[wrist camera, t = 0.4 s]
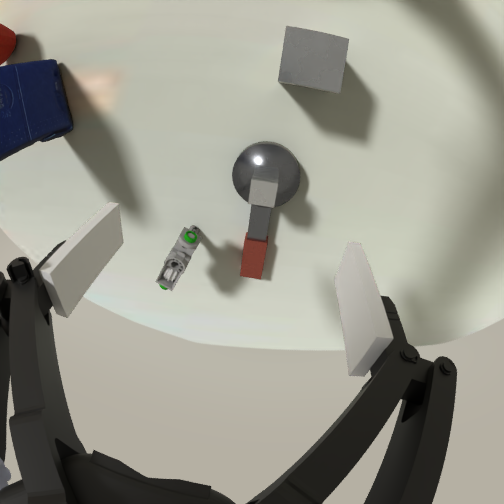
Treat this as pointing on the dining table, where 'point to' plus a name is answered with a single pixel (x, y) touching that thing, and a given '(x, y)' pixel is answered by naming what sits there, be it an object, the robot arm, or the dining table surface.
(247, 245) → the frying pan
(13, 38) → the apple
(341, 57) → the gray rectangular block
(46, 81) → the blue box
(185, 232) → the mechanical component
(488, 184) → the dining table surface
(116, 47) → the dining table surface
